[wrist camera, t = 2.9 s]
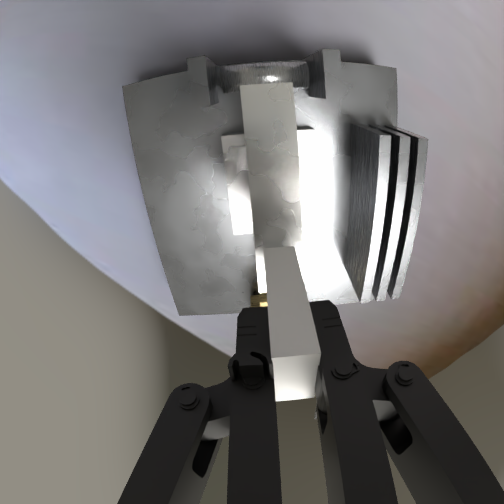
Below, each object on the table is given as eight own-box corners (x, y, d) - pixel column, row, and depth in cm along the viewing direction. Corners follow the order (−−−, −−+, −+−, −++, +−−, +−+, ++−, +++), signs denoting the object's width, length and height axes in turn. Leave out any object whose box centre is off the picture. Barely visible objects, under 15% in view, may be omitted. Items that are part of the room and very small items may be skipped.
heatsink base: (140, 83, 15) (87, 85, 9) (376, 67, 15) (433, 63, 9) (185, 292, 25) (170, 353, 19) (363, 277, 24) (390, 335, 18)
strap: (223, 70, 12) (219, 63, 11) (302, 65, 12) (307, 58, 10) (244, 283, 16) (244, 295, 15) (314, 277, 16) (318, 289, 15)
